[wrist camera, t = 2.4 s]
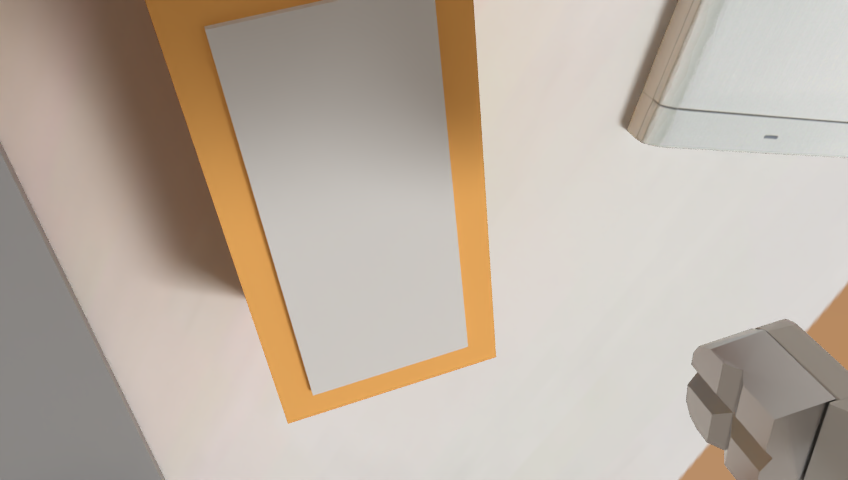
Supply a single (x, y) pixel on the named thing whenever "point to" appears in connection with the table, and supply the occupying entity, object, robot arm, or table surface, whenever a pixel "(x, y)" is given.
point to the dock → (55, 367)
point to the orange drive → (343, 183)
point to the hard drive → (750, 79)
